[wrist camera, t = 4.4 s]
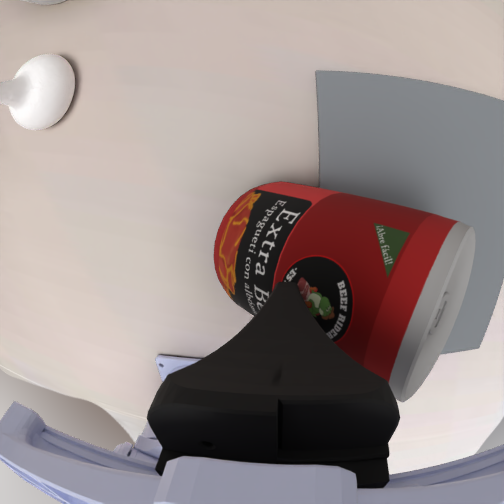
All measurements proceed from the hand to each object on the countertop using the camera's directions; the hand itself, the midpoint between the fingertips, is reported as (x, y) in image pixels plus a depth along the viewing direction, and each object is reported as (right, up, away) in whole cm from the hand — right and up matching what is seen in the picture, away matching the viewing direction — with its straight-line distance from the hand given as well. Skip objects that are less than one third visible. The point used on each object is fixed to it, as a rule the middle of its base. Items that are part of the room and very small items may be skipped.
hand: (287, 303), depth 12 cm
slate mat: (+11, +3, +7) cm, 14 cm away
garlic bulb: (-17, +15, +6) cm, 24 cm away
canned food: (-1, +2, +6) cm, 7 cm away
